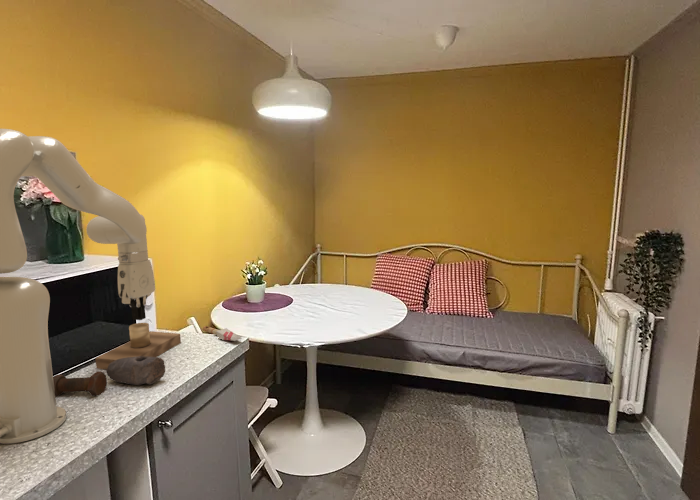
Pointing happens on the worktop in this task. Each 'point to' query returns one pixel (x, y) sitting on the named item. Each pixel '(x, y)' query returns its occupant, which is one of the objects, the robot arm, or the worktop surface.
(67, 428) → the worktop surface
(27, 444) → the worktop surface
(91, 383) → the bolt
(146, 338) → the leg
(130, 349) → the board
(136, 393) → the worktop surface
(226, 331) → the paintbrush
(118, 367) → the perforated stone tool
